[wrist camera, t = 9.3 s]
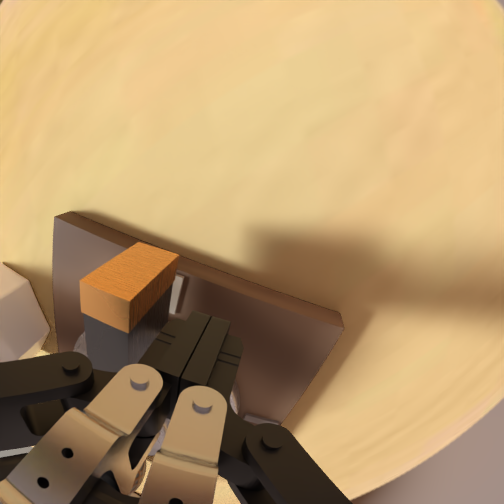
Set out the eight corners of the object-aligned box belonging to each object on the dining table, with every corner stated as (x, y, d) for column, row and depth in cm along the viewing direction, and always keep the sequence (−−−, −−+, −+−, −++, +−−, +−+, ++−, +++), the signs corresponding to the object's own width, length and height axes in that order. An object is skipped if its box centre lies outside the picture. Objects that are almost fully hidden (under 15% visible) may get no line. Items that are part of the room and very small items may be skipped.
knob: (222, 449, 18) (206, 508, 13) (93, 399, 18) (60, 444, 13) (288, 272, 13) (285, 351, 7) (81, 210, 13) (2, 241, 8)
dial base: (244, 458, 21) (241, 473, 19) (74, 385, 21) (65, 396, 19) (340, 313, 15) (345, 330, 13) (70, 211, 15) (52, 217, 13)
